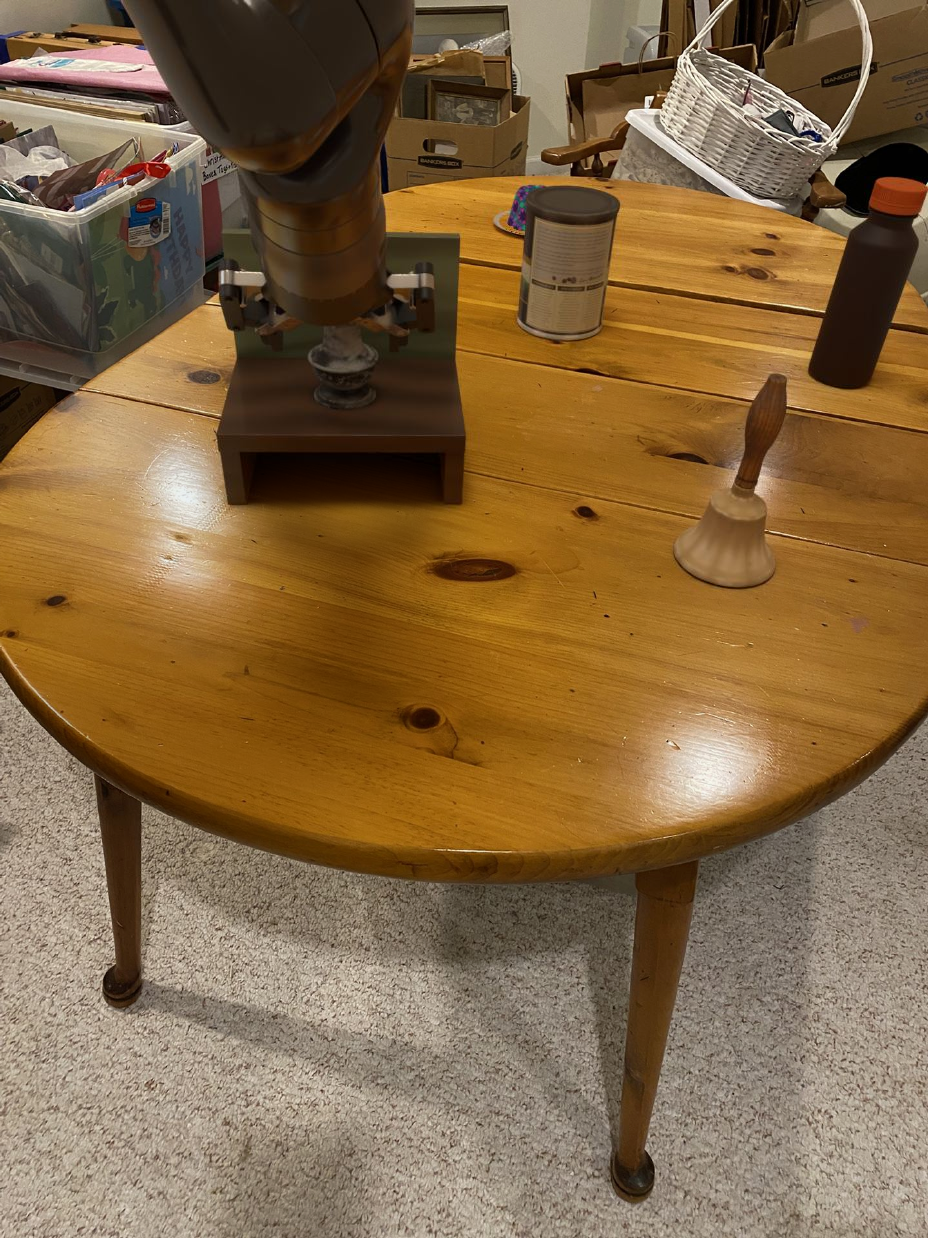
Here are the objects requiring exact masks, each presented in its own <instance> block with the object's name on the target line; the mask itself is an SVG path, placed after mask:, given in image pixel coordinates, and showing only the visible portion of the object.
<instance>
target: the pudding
mask: <svg viewBox="0 0 928 1238" xmlns="http://www.w3.org/2000/svg"><path fill="white" fill-rule="evenodd" d="M542 187H547V186H546V185H541V184H527V185H522V186H520V187H519V188H518V189H517V190H516V192H515V194H514V198H513V201H512V205H511V208H510V209H509V210H506V211H502V212H499V213H497V214H496V215H495V216H494V217H493V223H494V225H495V226H497V227H498V228H499V229H502V230H504V231H506V232H509V233H512V234H516V235H521V236H524V234H519V233H515V232H511V231H509V230H506V229H505V228H503V227H502V226H501V225H500V223H499V220H500V219H499V218H500V217H502V215H506V213H510V214H509V218H508V221H507V224H508V225H509V226H513V228H514V229H516V230H519V231H525V221H526V208H527V205H526V196H527V194H528V193H529V192H531V191H533V190H535V189H538V188H542Z"/></svg>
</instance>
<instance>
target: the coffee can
mask: <svg viewBox="0 0 928 1238" xmlns="http://www.w3.org/2000/svg"><path fill="white" fill-rule="evenodd" d="M526 205H527V208H526V221H525V234H524V235H523V236H524V237H523V246H522V247H523V248H522V259H521V271H520V285H519V297H518V298H519V299H518V309H517V317H516V322H517V324H518V326H519V327H520V328H521V329H522V330H523V331H524V332H526V333H528V334H531V335H532V336H535V337H538V338H542V339H546V340H552V341H565V342H571V341H580V340H584V339H589V338H592V337H594V336H595V335H597V334H598V333H600V332H601V330H602V328H603V317H604V310H605V304H606V296H607V289H608V283H609V282H608V281H609V277H610V276H609V275H610V270H611V269H610V268H611V261H612V255H613V246H614V241H615V234H616V227H617V220H618V214H619V212H620V209H621V201H620V200H619V198H617V197H616V196H615V195H613V194H611V193H609V192H606V191H603V190H599V189H597V188H593V187H588V186H581V185H566V184H565V185H560V184H559V185H548V186H546V187H542V188H538V189H535V190H533V191H531V192H529V193H528V194H527V196H526Z"/></svg>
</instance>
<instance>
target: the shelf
mask: <svg viewBox="0 0 928 1238" xmlns="http://www.w3.org/2000/svg"><path fill="white" fill-rule="evenodd" d="M250 233H251V230H250V228H230V227H229V228H228V227H227V228H225V227H223V228H222V230H221V232H220V234H221V243H222V248H223V249H222V251H223V259H233V260H235V261H237V262H238V265H239V269H245V270H246V271H247V272H261V270H262V267H261V264H260V261H259V258H258V255H257V253H256V252H255V251H254V247H253V244H252V240H251V236H250ZM386 233H387V246H386V266H387V267H389V268H390V269H391V271H392V273H393V274H409V273H410V272H415V265H416V264H417V263H419V262H430V263H432V264H433V265H434V299H435V331H434V332H433V333H428V334H425V333H420V332H419V331H418V328H414V329H411V330H410V331H409V336H408V344H407V345H406V346H399V352H389V333H388V332H386V331H381V332H377V333H374V332H372V331H370V330H368V329H366V328H364V327H362V326H360V334H361V338H362V342H363V343H364V344H366V345H369V346H371V347H372V348H374V349H375V350H376V351H377V353H378V357H379V359H378V361H377V363H376V364H375V369H374V372H373V374H372V376H371V379H370V380H369V381H368V382H367V384H369V385H370V386H372V387H373V388H374V390H375V392H376V397H375V399H374V400H373V401H372V402H371V403H370V404H368V405H366V406H364V407H361V408H357V409H349V410H340V409H333V408H329V407H326V406H323V405H321V404H320V403H318V402H317V401H316V399H315V398H314V392H315V390H316V388H317V387H319V386H320V385H321V384H323V383H322V382H320V381H319V380H318V378H317V377H316V375H315V373H314V371H313V366H312V365H311V364H310V362H309V360H308V354H309V352H310V351H311V350H312V349H313V348H314V347H316V346H318V345H320V344H322V343H323V339H324V326H316V325H311V324H308V323H303V324H301V325H299V326H298V327H296V328H294V329H292V330H290V331H289V332H286V331H283V352H273V349H272V346H271V345H265V344H264V343H262V340H261V337H260V335H259V334H257V333H256V332H255V328H254V327H250V326H245V330H244V331H240V332H234V331H233V336H234V346H235V354H236V359H235V363H234V366H233V371H232V373H231V377H230V381H229V385H228V388H227V392H226V396H225V400H224V404H223V408H222V411H221V415H220V418H219V423H218V425H217V430H216V434H215V435H216V443H217V449H218V450H217V451H218V452H219V454H220V461H221V468H222V475H223V482H224V487H225V488H224V489H225V495H226V501H227V505H247V504H248V499H249V495H250V494H249V493H250V489H251V484H252V479H253V473H254V468H255V463H256V459H257V453H438V455H439V456H438V457H439V467H440V477H441V479H440V480H441V489H442V490H441V491H442V499H443V500H442V501H443V504H444V505H461V504H463V494H464V493H463V491H464V474H465V473H464V471H465V453H466V447H467V444H466V442H467V434H466V425H465V419H464V411H463V404H462V397H461V389H460V383H459V376H458V369H457V361H456V360H457V359H456V358H457V334H458V330H457V329H458V310H459V309H458V307H459V283H460V281H459V280H460V279H459V278H460V257H461V234H460V233H459V232H458V233H455V232H416V231H415V232H413V231H412V232H411V231H408V232H405V231H404V232H403V231H386ZM260 293H261V292H257V293H254V294H253V295H252V297H251V298H248V299H249V300H255V296H257V295H258V294H260Z"/></svg>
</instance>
